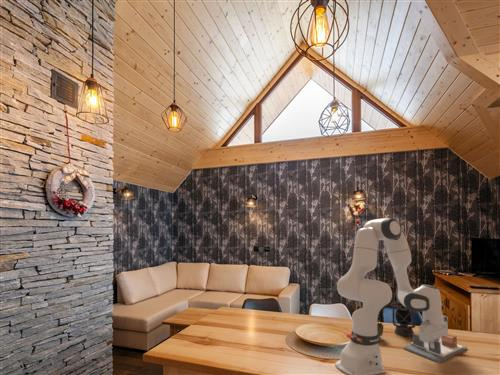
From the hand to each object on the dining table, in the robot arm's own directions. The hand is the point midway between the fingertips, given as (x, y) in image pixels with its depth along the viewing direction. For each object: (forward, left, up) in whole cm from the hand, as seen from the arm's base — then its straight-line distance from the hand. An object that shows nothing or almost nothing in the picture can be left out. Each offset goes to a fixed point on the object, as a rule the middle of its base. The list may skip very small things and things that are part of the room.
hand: (434, 347), depth 143 cm
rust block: (+14, 0, -2) cm, 14 cm away
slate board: (+8, +4, -4) cm, 10 cm away
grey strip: (+10, +9, -3) cm, 14 cm away
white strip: (+9, 0, -3) cm, 10 cm away
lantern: (+14, +25, -4) cm, 29 cm away
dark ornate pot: (-6, +29, -4) cm, 29 cm away
